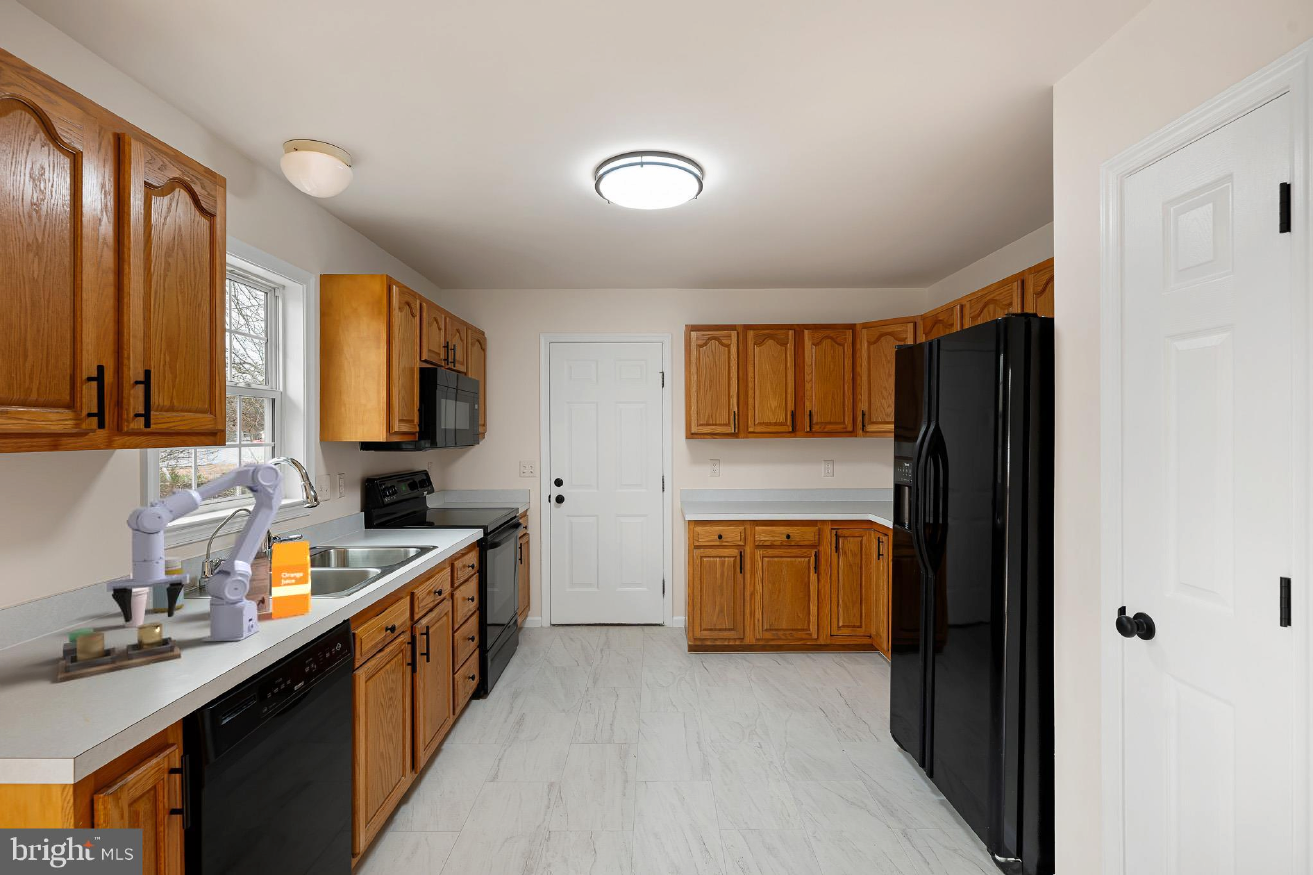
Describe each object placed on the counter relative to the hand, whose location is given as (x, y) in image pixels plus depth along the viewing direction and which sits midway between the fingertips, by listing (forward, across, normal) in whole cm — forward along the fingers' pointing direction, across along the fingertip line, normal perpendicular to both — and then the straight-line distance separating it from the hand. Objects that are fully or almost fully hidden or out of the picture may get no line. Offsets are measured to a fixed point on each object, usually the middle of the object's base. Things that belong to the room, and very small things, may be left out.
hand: (149, 618), depth 141 cm
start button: (+4, +14, -7) cm, 16 cm away
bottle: (+9, +6, -46) cm, 48 cm away
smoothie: (+9, +11, -32) cm, 35 cm away
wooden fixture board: (+8, +5, +1) cm, 10 cm away
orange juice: (+9, -26, -24) cm, 37 cm away
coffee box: (+9, -16, -33) cm, 38 cm away
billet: (+8, 0, 0) cm, 8 cm away
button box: (+8, +14, -7) cm, 18 cm away
